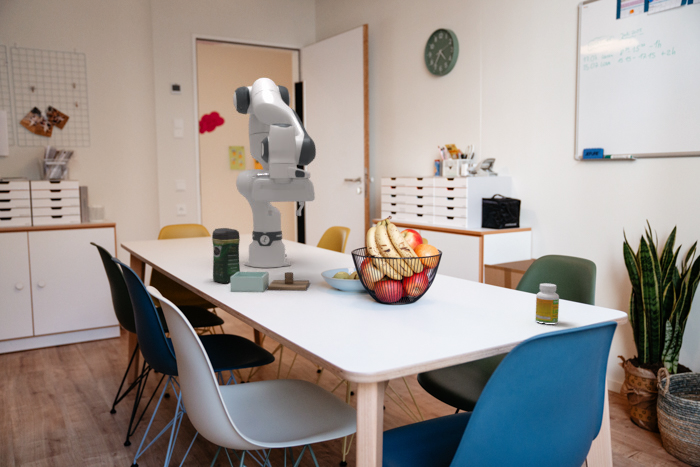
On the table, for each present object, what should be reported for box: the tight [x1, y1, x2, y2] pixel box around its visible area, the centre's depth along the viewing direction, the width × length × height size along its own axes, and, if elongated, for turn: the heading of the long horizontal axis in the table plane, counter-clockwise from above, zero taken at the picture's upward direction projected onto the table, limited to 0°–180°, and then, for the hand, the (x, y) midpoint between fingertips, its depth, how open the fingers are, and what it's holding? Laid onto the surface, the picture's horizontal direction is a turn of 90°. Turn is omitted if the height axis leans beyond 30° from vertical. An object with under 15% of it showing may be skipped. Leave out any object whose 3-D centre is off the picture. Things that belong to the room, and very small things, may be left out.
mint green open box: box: [230, 271, 270, 293], centre depth 184 cm, size 10×10×5 cm
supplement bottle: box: [535, 282, 560, 324], centre depth 145 cm, size 5×5×10 cm
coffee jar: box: [211, 227, 241, 284], centre depth 198 cm, size 10×8×19 cm
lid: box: [267, 271, 310, 291], centre depth 188 cm, size 12×12×4 cm
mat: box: [266, 282, 312, 292], centre depth 188 cm, size 13×13×1 cm
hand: (284, 215), depth 187 cm, fingers open, 8 cm apart
